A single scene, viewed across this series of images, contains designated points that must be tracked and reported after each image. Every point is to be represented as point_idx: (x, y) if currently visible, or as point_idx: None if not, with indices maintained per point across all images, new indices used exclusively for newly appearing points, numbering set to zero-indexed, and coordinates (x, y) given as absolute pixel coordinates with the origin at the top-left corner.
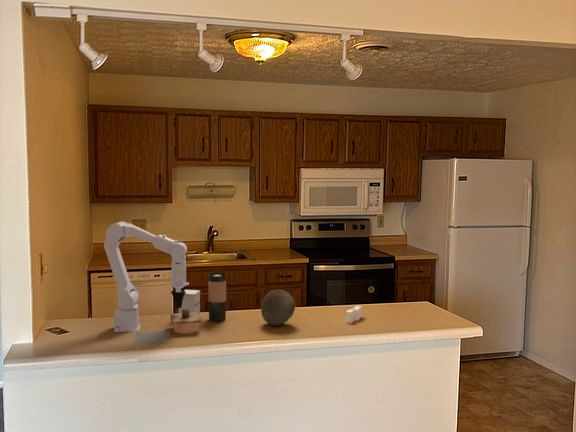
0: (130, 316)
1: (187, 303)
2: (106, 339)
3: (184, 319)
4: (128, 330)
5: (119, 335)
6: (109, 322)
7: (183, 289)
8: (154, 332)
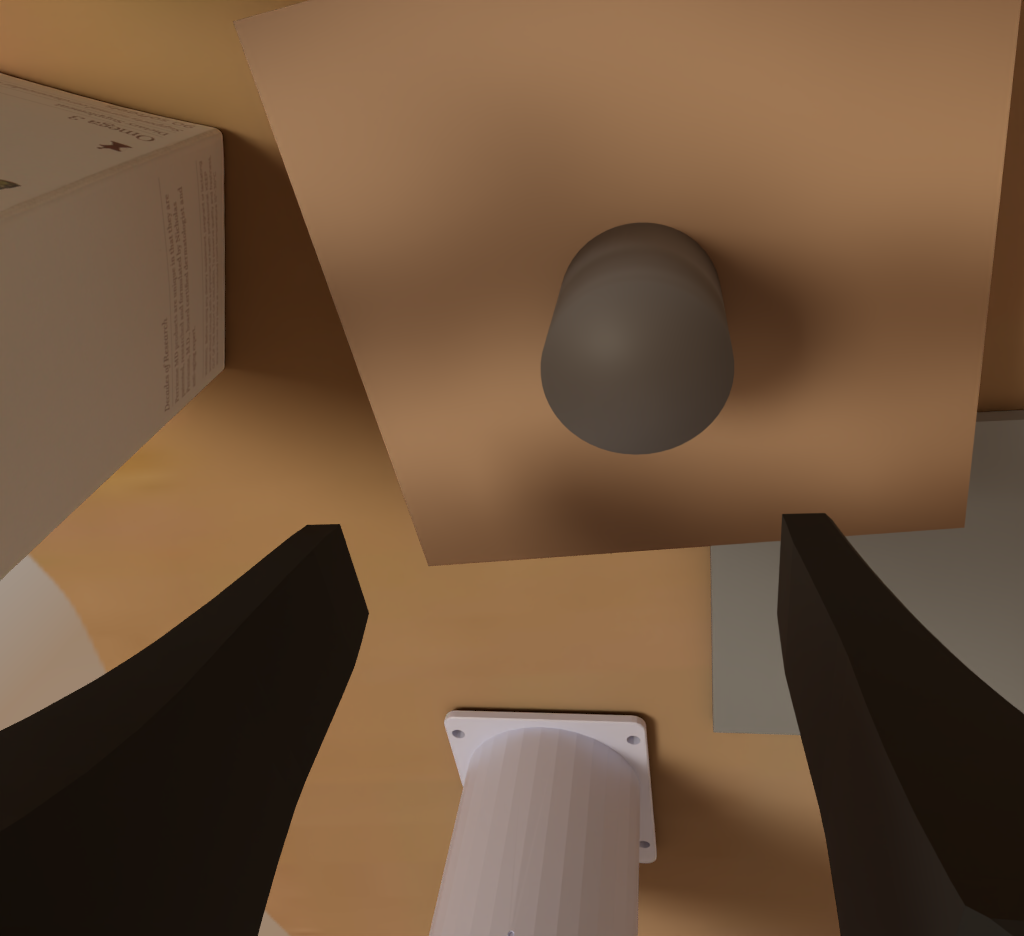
0: (632, 924)
1: (25, 373)
2: (832, 884)
3: (835, 307)
4: (641, 789)
5: (732, 821)
6: (366, 875)
7: (107, 806)
8: (727, 593)
